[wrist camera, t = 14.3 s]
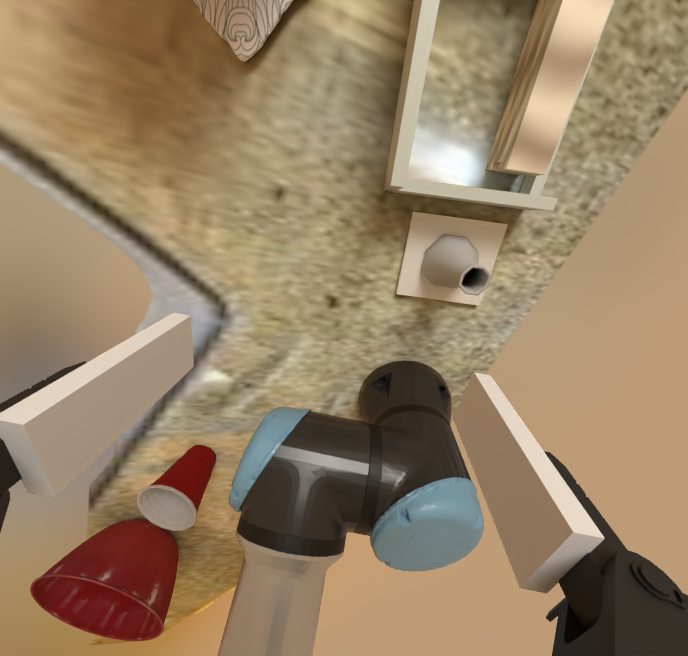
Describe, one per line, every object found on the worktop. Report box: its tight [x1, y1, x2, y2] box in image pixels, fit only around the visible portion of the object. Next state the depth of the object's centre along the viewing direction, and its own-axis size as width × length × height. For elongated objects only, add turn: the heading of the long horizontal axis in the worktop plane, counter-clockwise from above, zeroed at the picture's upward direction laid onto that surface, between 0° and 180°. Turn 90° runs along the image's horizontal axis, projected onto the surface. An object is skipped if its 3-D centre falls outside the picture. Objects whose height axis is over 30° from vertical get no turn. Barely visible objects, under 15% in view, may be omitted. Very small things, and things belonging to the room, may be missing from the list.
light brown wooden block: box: [486, 0, 613, 176], centre depth 27 cm, size 17×4×6 cm, turn 172°
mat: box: [396, 212, 508, 306], centre depth 37 cm, size 11×12×1 cm
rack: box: [383, 0, 614, 211], centre depth 24 cm, size 23×18×12 cm
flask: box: [421, 234, 492, 296], centre depth 32 cm, size 7×7×10 cm
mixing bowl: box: [30, 519, 178, 641], centre depth 65 cm, size 28×28×15 cm
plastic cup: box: [136, 445, 216, 531], centre depth 52 cm, size 11×11×12 cm
